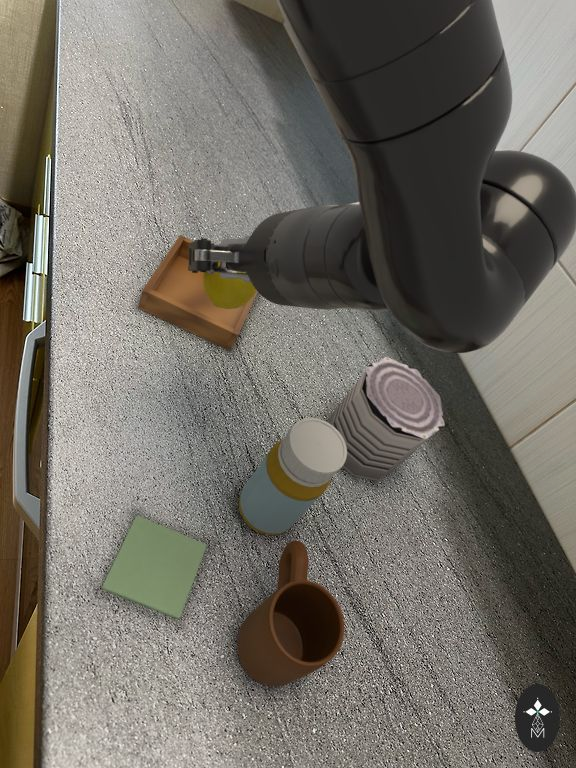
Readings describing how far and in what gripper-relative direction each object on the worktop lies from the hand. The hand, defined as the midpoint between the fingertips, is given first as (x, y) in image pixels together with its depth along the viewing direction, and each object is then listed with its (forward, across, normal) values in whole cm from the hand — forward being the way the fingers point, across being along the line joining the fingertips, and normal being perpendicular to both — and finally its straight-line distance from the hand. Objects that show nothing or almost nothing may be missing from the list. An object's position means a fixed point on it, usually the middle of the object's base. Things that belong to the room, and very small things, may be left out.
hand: (228, 262), depth 58 cm
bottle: (+1, -6, +28) cm, 28 cm away
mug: (-8, -3, +36) cm, 37 cm away
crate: (+24, -6, +4) cm, 25 cm away
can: (+6, -22, +23) cm, 32 cm away
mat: (-2, +8, +31) cm, 32 cm away
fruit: (+2, 0, +5) cm, 5 cm away
